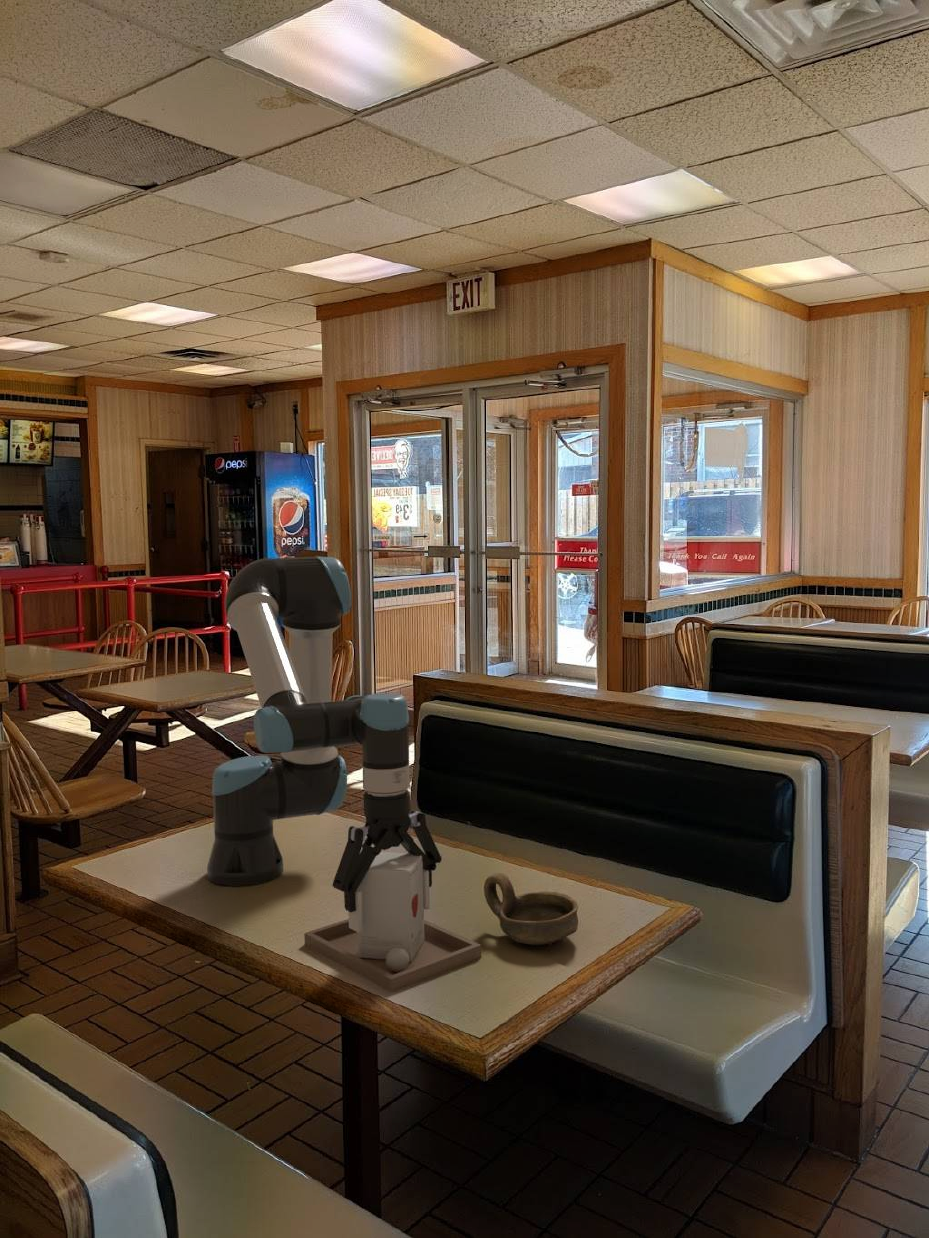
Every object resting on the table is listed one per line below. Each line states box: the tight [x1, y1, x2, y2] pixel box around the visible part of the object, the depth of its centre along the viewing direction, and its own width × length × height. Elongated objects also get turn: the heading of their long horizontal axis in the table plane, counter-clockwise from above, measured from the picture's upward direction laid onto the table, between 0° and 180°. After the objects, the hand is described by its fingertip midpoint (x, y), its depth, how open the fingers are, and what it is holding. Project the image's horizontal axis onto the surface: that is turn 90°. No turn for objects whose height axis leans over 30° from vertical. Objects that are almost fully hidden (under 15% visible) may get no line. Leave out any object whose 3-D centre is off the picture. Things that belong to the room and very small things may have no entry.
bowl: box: [483, 872, 579, 946], centre depth 170 cm, size 14×18×10 cm
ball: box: [386, 948, 409, 972], centre depth 157 cm, size 4×4×4 cm
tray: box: [303, 918, 483, 993], centre depth 165 cm, size 24×18×2 cm
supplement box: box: [357, 851, 425, 962], centre depth 164 cm, size 9×9×15 cm
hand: (390, 918), depth 165 cm, fingers open, 13 cm apart
